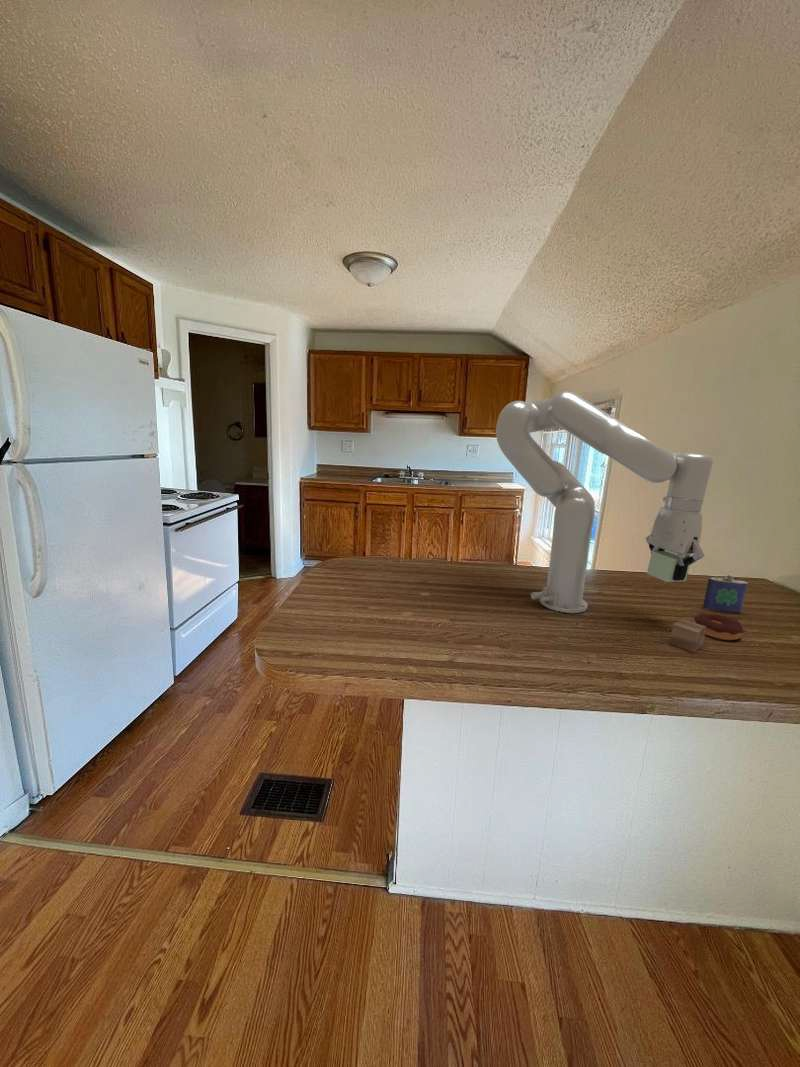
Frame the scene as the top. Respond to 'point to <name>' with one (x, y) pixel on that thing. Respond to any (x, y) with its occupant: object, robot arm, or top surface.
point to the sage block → (664, 565)
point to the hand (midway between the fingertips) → (666, 574)
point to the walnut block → (687, 635)
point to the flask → (725, 595)
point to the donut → (719, 626)
